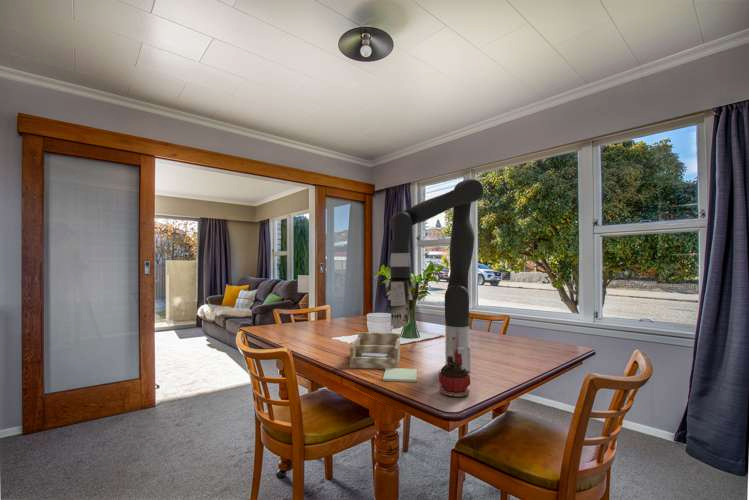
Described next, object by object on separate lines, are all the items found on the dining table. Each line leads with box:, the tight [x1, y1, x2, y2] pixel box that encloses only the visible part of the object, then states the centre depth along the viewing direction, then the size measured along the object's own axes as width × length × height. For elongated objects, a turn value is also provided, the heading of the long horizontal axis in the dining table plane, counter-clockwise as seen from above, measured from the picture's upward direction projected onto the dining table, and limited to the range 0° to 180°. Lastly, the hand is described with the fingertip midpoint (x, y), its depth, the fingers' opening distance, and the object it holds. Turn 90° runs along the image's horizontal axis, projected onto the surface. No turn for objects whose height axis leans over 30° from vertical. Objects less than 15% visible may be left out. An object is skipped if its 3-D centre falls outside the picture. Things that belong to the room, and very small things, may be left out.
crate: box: [349, 331, 401, 370], centre depth 152 cm, size 19×21×10 cm
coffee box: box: [390, 281, 411, 327], centre depth 134 cm, size 9×6×16 cm
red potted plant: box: [438, 337, 471, 397], centre depth 115 cm, size 11×9×18 cm
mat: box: [382, 367, 418, 383], centre depth 133 cm, size 12×13×1 cm
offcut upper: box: [361, 352, 388, 358], centre depth 146 cm, size 10×4×2 cm, turn 73°
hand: (400, 309), depth 134 cm, fingers closed on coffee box, 6 cm apart
